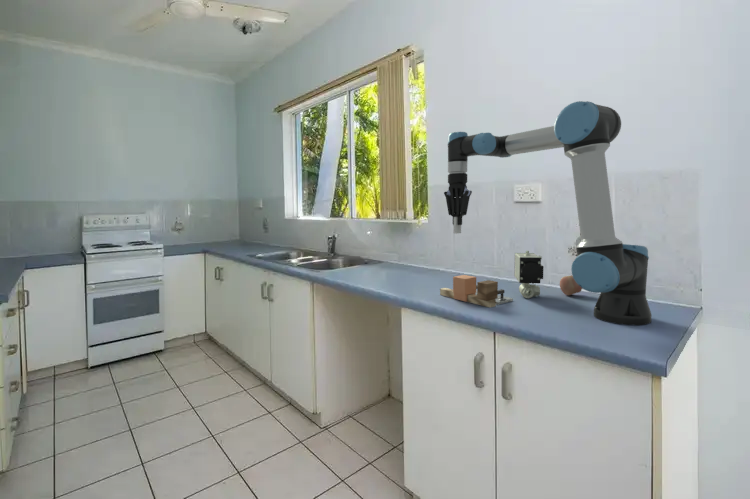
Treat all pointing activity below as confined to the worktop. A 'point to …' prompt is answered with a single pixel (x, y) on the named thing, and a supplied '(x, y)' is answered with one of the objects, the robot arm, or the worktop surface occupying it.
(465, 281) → the block
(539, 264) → the ball valve
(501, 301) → the flange strip
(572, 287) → the tan rounded lump
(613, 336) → the worktop surface
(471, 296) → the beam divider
